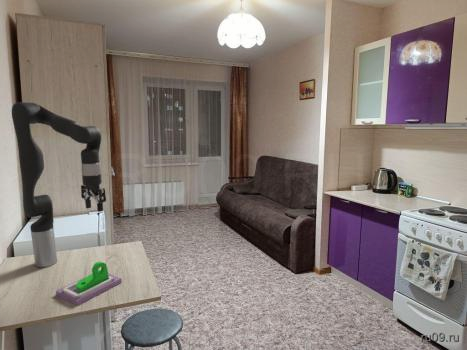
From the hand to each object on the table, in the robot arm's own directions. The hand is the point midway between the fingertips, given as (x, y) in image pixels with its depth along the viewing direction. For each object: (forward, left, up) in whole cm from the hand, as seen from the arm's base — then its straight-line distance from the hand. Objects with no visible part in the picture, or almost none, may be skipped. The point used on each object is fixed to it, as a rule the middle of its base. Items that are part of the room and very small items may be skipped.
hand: (94, 209), depth 142 cm
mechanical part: (+11, -11, -27) cm, 31 cm away
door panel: (+10, -12, -29) cm, 33 cm away
